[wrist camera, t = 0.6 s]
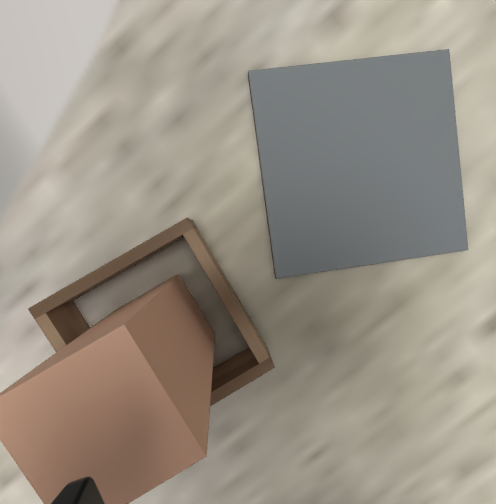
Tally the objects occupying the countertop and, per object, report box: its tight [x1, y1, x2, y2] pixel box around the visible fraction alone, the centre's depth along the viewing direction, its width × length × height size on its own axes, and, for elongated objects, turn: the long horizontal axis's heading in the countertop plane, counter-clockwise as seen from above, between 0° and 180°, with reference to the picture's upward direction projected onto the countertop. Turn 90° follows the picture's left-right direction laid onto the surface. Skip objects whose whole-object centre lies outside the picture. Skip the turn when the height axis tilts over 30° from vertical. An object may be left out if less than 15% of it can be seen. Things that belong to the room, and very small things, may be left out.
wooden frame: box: [28, 218, 275, 406], centre depth 22 cm, size 10×10×4 cm
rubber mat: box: [248, 49, 468, 279], centre depth 24 cm, size 14×14×1 cm
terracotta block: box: [0, 274, 215, 504], centre depth 17 cm, size 5×5×13 cm
